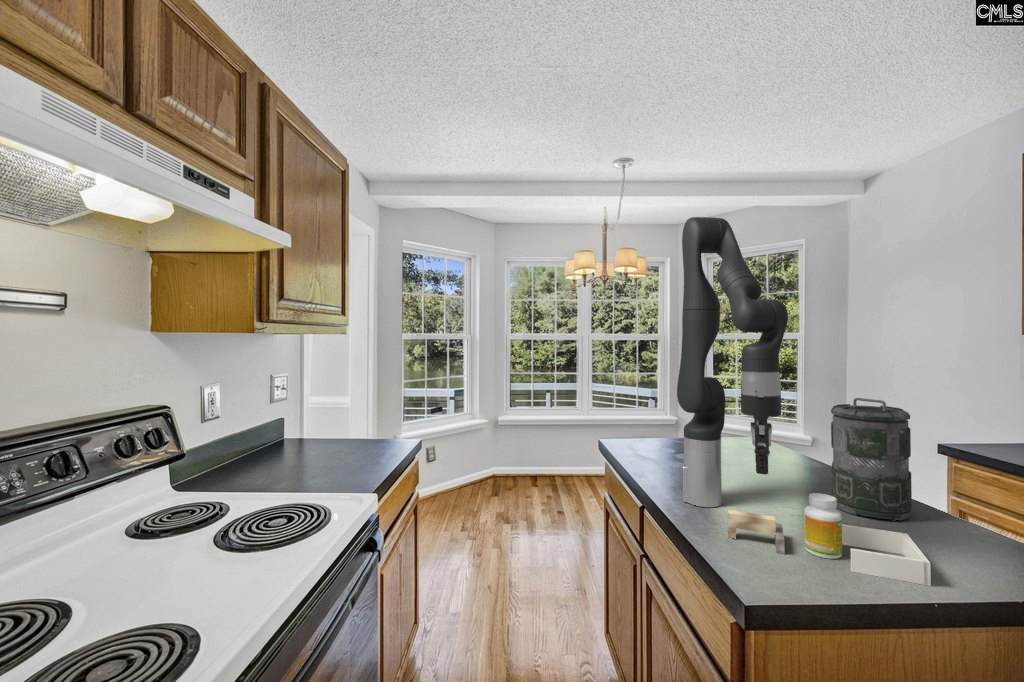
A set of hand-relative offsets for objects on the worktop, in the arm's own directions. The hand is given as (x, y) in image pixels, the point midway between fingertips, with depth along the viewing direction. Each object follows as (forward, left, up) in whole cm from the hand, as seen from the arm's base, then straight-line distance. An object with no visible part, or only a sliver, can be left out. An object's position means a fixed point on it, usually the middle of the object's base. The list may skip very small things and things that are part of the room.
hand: (761, 468), depth 98 cm
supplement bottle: (+11, 0, -16) cm, 19 cm away
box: (+20, 0, -16) cm, 25 cm away
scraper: (-2, 0, -16) cm, 16 cm away
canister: (+24, +33, -16) cm, 44 cm away
